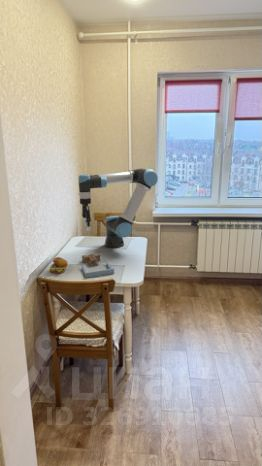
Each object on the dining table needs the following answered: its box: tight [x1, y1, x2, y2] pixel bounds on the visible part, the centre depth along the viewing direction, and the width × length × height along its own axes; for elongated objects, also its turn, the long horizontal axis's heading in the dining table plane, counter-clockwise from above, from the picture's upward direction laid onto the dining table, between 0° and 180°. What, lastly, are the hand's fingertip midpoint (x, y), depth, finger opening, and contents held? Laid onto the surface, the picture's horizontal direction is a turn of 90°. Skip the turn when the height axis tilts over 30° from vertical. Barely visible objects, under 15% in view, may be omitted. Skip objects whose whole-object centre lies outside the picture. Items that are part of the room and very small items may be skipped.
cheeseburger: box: [49, 256, 68, 274], centre depth 205 cm, size 10×11×10 cm
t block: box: [81, 252, 101, 267], centre depth 218 cm, size 12×12×4 cm
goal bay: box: [81, 261, 115, 278], centre depth 203 cm, size 17×15×3 cm
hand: (86, 228), depth 224 cm, fingers open, 12 cm apart
